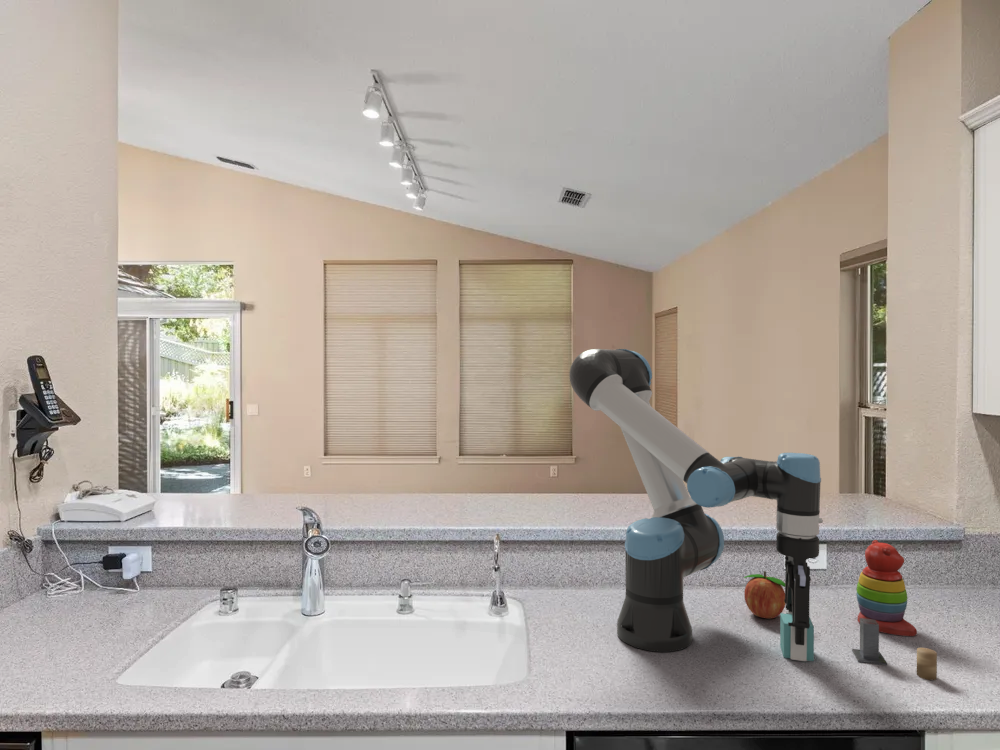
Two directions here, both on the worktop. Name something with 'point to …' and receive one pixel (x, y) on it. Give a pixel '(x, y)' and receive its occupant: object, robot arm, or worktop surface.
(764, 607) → the fruit
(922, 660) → the oak stub
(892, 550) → the stacking bear
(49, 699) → the worktop surface
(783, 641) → the teal rectangular prism
